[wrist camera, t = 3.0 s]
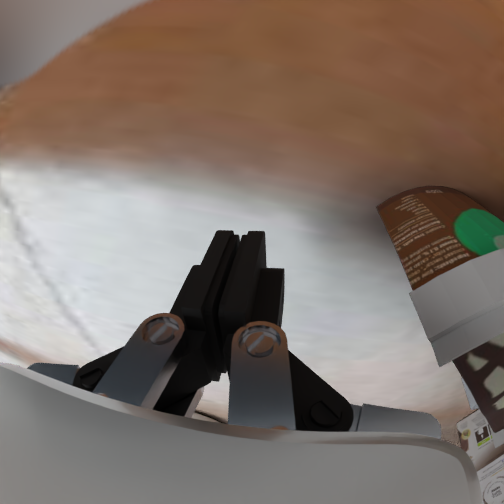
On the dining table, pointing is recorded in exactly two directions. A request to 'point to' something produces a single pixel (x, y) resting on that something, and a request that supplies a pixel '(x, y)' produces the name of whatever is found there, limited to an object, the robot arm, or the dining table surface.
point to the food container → (456, 285)
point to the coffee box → (483, 456)
